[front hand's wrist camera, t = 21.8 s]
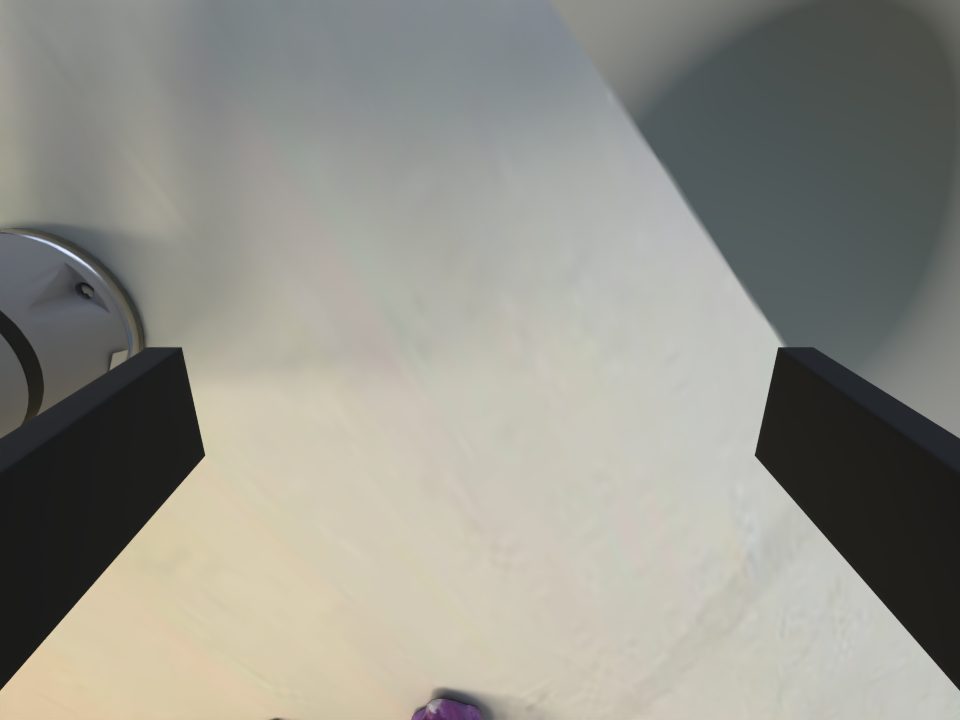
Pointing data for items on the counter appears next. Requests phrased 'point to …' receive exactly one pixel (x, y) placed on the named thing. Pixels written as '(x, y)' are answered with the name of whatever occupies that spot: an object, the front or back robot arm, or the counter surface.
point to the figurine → (447, 711)
